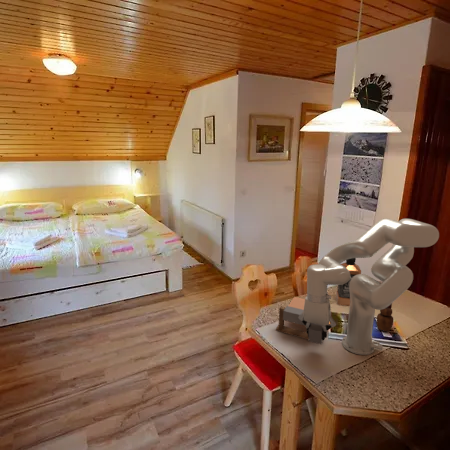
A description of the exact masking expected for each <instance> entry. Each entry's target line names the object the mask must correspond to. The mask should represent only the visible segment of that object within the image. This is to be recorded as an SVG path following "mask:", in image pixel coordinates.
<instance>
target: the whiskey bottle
mask: <svg viewBox="0 0 450 450" xmlns="http://www.w3.org/2000/svg"><path fill="white" fill-rule="evenodd" d="M356 260H357V258H351V259H347V260H345V262H344V263H343V262H342V263H340V264H341V265H343V266H344V267H346V268H347V269H348V270H349V272H350V279H349V281H348V282H347V283H345V284H342V285H337V290H336V292H335V293H336V294H335V300H336V304H337V305H339V306H345V307H347V306H348V307H350V291H349V285H350V281H351V279H352V278H353V277H354V276H355V275H358V274H362V270H361V267H360V265H358V264H356Z"/></svg>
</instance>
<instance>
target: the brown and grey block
mask: <svg viewBox="0 0 450 450" xmlns="http://www.w3.org/2000/svg"><path fill="white" fill-rule="evenodd" d="M304 303H305V298H303V297H302V298H301V297H298V296H297V297H296V296H294V297H293V298H292V300H291V301H290V303H289V304H288V305H287V306H285V309H284V311H283V320H285V321H286V322H289V323H294V324H297V325H301V326H305V325H304V324H303V322H302V321H301V320H300V319H299V318H298V317H299V315H300V314H302V313H303V312H304ZM285 321H284V322H285ZM310 324H311V323H310ZM305 327H306V326H305Z"/></svg>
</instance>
